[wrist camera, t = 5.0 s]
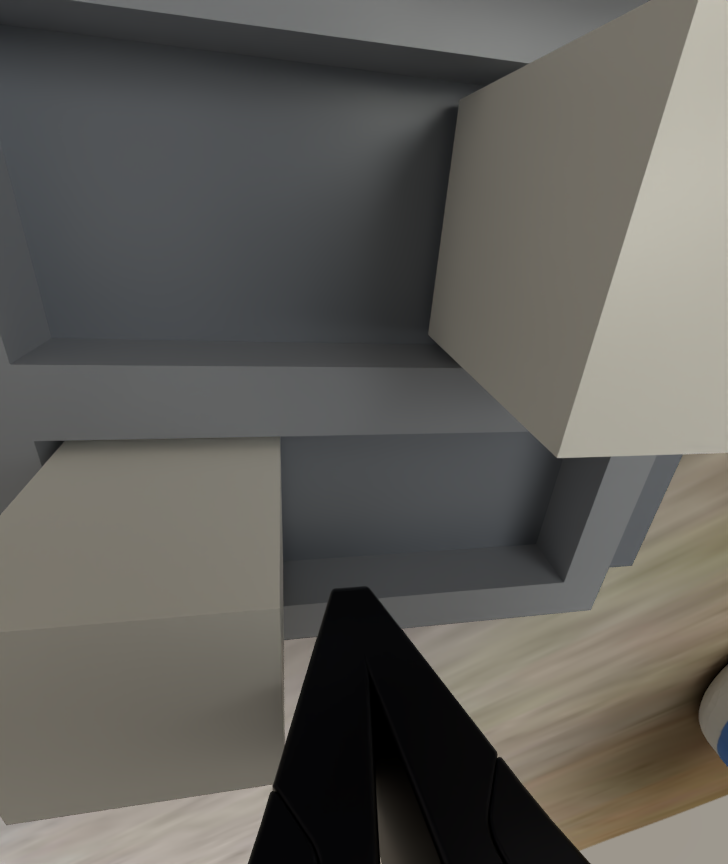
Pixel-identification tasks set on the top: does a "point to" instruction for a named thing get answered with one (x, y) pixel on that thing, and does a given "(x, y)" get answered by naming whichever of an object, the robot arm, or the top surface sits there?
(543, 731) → the top surface
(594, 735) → the top surface
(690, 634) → the top surface
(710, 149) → the light grey block
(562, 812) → the top surface
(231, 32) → the grey compartment tray
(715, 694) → the supplement tub
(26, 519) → the light grey block
